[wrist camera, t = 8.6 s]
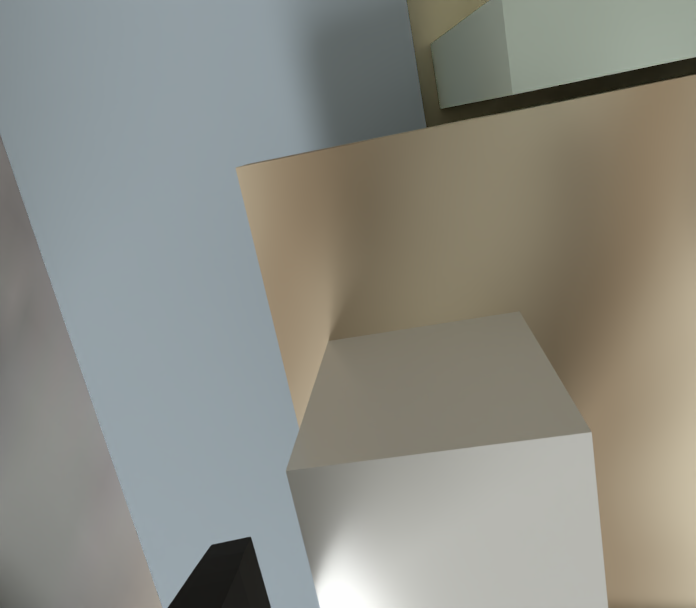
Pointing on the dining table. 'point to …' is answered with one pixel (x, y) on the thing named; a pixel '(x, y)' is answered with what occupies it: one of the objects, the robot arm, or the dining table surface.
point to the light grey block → (447, 473)
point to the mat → (188, 234)
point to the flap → (522, 280)
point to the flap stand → (557, 44)
